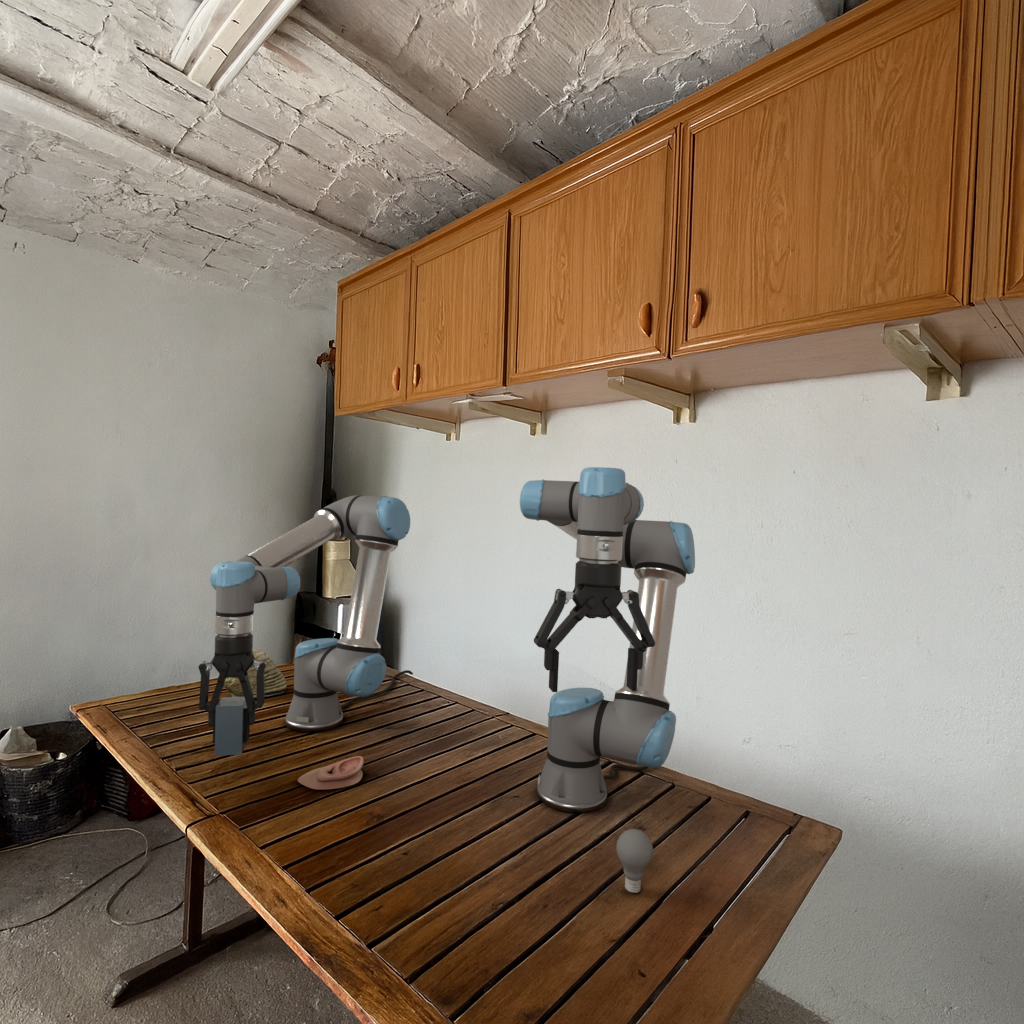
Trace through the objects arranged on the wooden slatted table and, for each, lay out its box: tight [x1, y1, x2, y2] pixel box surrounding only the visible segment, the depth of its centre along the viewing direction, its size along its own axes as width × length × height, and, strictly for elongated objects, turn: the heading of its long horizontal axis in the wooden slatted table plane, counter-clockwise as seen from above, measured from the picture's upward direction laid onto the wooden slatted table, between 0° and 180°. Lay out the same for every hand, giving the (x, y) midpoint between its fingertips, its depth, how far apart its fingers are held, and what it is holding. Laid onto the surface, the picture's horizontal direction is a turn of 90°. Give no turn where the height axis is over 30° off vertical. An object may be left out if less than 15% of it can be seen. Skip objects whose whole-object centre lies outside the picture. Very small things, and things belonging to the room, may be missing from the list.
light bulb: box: [615, 828, 654, 894], centre depth 106 cm, size 6×6×10 cm
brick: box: [214, 696, 248, 757], centre depth 137 cm, size 6×5×11 cm
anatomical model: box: [297, 755, 364, 791], centre depth 142 cm, size 13×4×12 cm
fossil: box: [223, 647, 288, 698], centre depth 198 cm, size 9×18×15 cm, turn 132°
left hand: (231, 740), depth 137 cm, fingers closed on brick, 5 cm apart
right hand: (592, 689), depth 105 cm, fingers open, 13 cm apart
